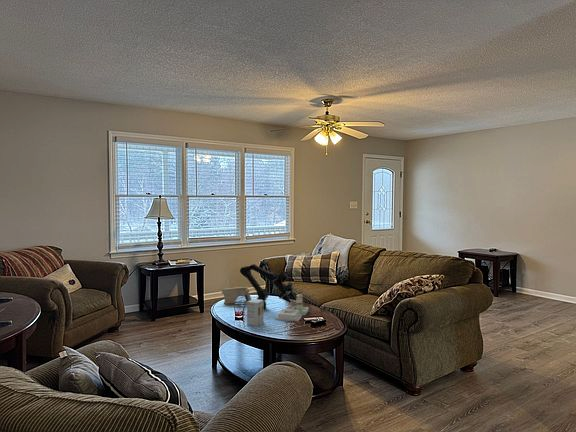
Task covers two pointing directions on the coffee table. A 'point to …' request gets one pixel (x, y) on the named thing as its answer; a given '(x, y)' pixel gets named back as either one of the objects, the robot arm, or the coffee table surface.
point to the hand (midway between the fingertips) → (292, 300)
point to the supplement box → (255, 312)
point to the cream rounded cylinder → (299, 302)
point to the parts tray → (304, 312)
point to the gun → (235, 295)
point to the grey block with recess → (288, 315)
